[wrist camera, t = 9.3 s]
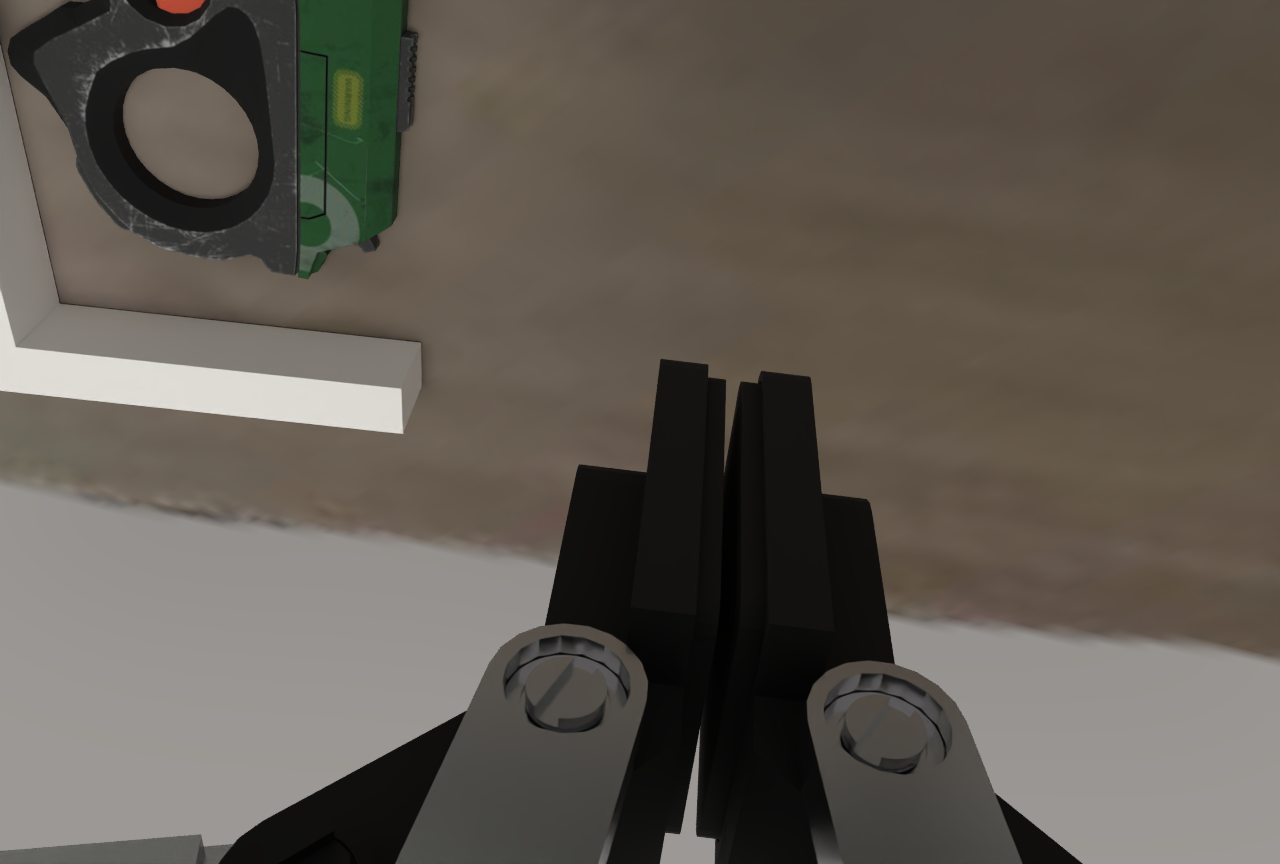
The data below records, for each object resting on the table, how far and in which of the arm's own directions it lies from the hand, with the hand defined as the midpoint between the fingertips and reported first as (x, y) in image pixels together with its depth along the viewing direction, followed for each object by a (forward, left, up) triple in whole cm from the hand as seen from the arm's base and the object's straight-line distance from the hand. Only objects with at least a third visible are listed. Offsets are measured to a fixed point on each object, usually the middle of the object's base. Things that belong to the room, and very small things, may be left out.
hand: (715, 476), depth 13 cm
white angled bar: (+14, 0, -18) cm, 22 cm away
